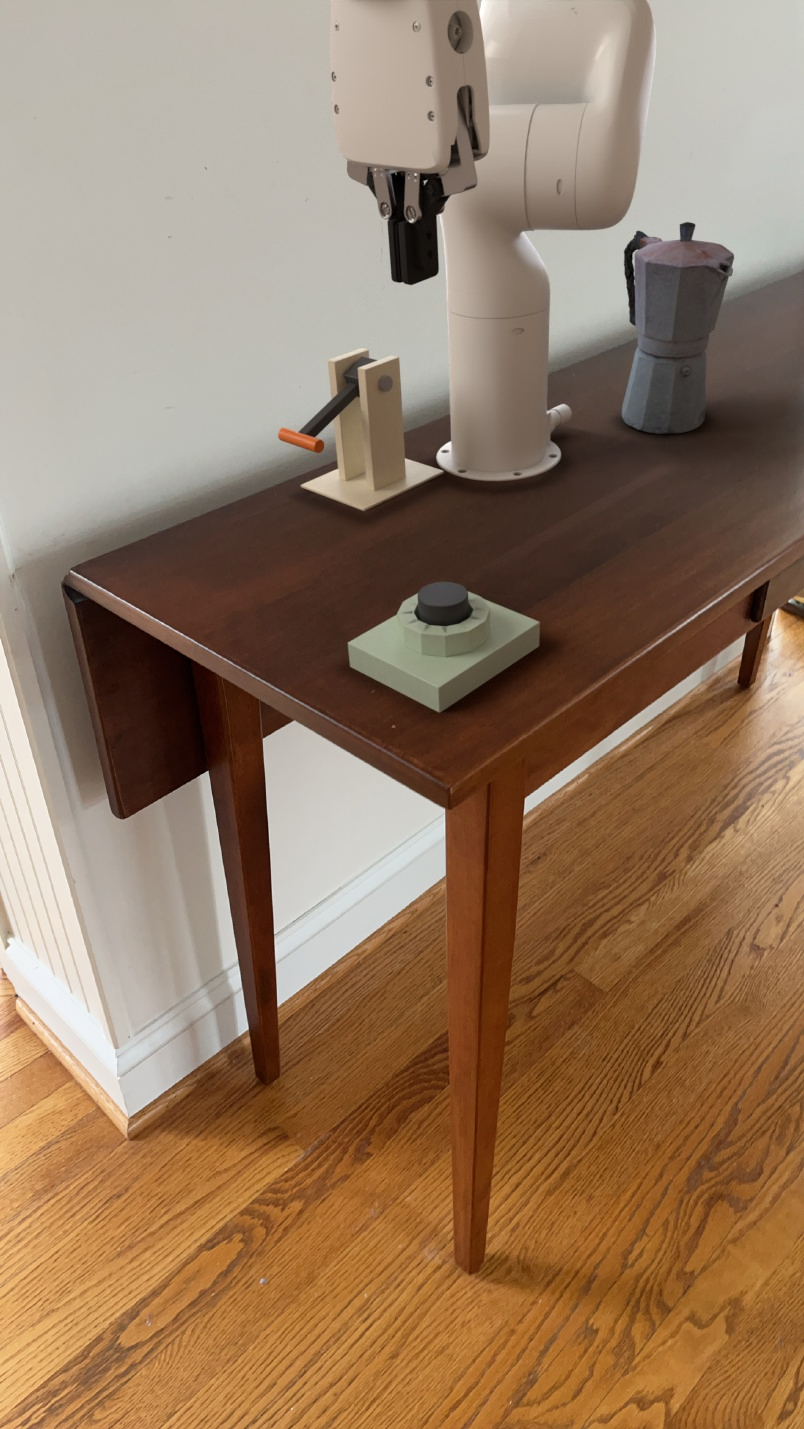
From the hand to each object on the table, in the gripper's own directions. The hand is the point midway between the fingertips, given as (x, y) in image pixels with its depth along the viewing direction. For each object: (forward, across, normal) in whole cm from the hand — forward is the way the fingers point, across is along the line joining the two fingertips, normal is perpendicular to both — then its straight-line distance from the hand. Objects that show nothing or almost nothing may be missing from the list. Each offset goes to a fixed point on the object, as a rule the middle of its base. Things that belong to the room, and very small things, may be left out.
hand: (415, 278), depth 71 cm
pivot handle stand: (+24, +16, -9) cm, 31 cm away
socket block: (+23, -9, +9) cm, 27 cm away
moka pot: (+26, +4, -41) cm, 49 cm away
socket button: (+20, -9, +9) cm, 23 cm away
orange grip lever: (+16, +17, -6) cm, 24 cm away
